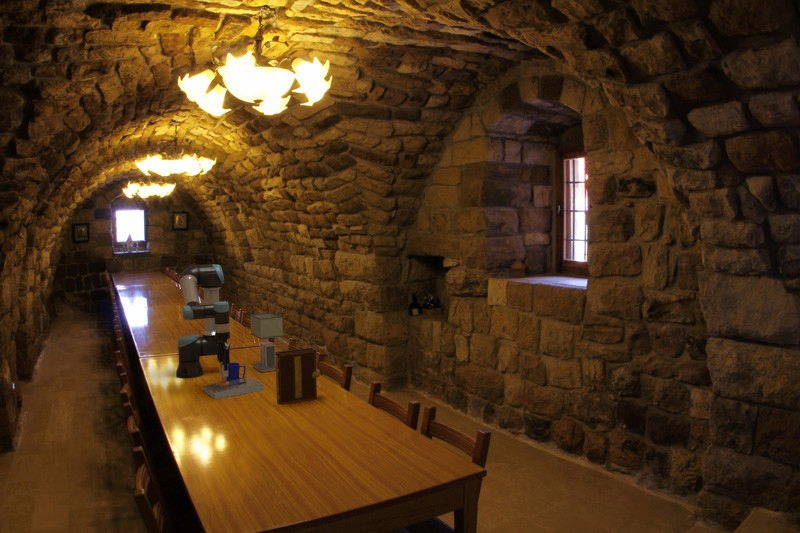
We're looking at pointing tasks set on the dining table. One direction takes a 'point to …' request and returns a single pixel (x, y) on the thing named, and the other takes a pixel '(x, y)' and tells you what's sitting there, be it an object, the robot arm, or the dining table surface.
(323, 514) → the dining table surface
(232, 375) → the mug
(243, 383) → the keyhole plate
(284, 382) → the book
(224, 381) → the headed peg
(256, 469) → the dining table surface
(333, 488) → the dining table surface
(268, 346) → the desk lamp
